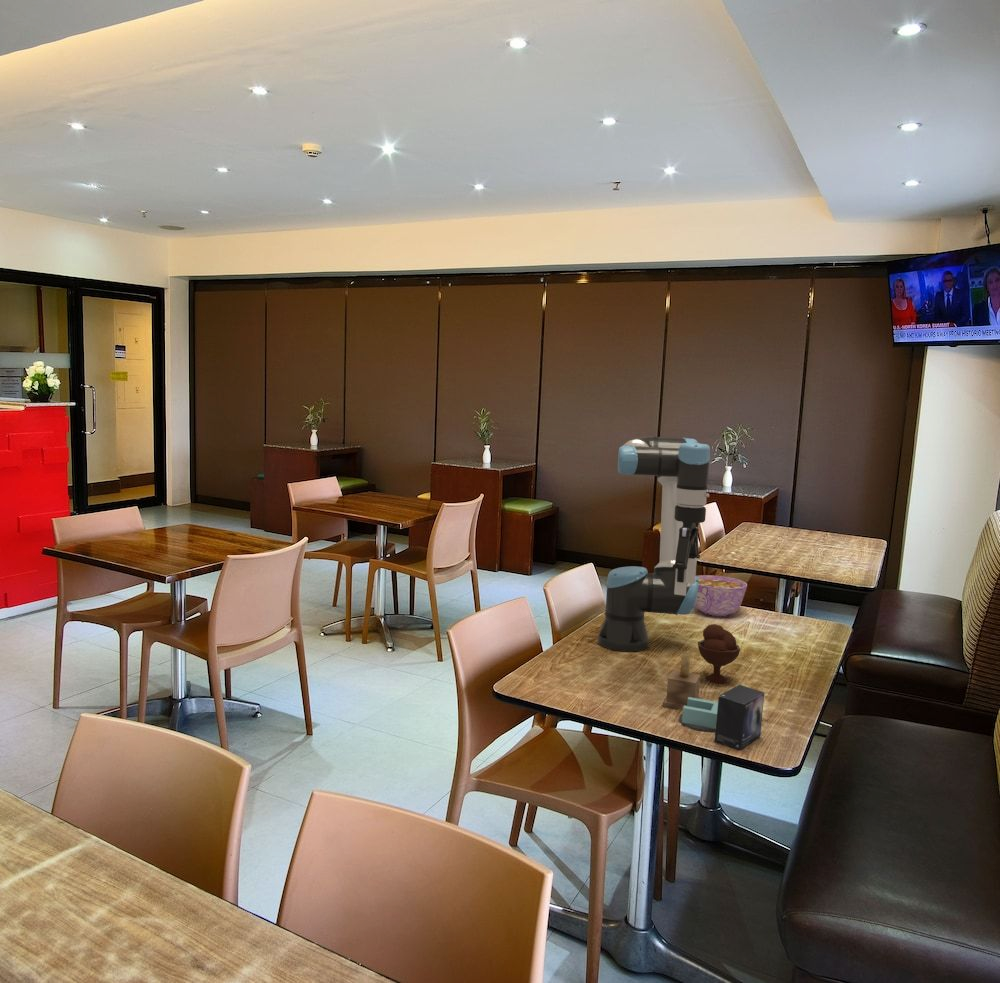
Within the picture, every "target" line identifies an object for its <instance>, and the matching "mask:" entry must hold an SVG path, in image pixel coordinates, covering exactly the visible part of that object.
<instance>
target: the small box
mask: <svg viewBox="0 0 1000 983" xmlns="http://www.w3.org/2000/svg"><path fill="white" fill-rule="evenodd" d="M764 698H765V692H764V691H761V690H758V689H755V688H751V687H748V686H745V685H742V684H738V685H736V686H735V687H733V688H730V689H728V690H727V691H725V692H722V693H721V694H719V695H718V700H717V702H718V709H717V721H716V730H715V731H714V732H715V733H714V740H713V741H714V742H716V743H719V744H721V745H725V746H727V747H731V748H733V749H736V750H742V749H744V748H746V747H747V746H748V745H749V744H751V743H753V742H754V741H756V740H758V739H759V738H761V735H762V722H763V712H764V710H763V709H764V702H765V699H764Z"/></svg>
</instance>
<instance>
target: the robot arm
mask: <svg viewBox="0 0 1000 983" xmlns="http://www.w3.org/2000/svg"><path fill="white" fill-rule="evenodd" d="M710 453H711V448H710V446H709V444H707V443H699V441H697V440H696V439H695V438H690V437H689V438H688V437H684V436H683V437H672V436H671V437H670V436H669V437H668V436H665V437H664V436H648V435H647V436H640V437H637V438H632V439H630V440H627V442H625V443H623V445H621V446H620V447H619V448H618V454H617V455H618V457H617V472H618V474H621V475H626V476H649V477H650V476H651V477H654V476H655V477H657V482H659V484H660V485H661V486H662V488H661V489H662V490H661V491H662V492H661V493H662V494H661V512H660V513H661V516H660V518H661V520H660V540H659V541H660V542H659V562H658V563H657V564H656V565H655V566H654V568H653V573H649V572H648V569H647V568H646V567H643V566H635V565H633V566H631V565H630V566H621V567H617V568H613V569H612V570H610V571H609V573H608V574H607V579H606V580H607V581H606V585H605V587H606V597H605V612H604V613H605V614H604V619H603V622H602V625H601V626H600V629H599V632H598V635H597V643H598V645H600V646H602V647H603V648H606V649H609V650H612V651H619V652H640V651H644V650H647V649H648V648H649V642H650V640H649V634H648V631H647V628H646V623H645V613H653V614H654V613H655V614H656V613H657V614H669V615H675V616H679V615H686V616H687V615H690V614H692V612H693V611H694V609H695V608H696V606H695V603H696V598H697V593H698V586H699V578H698V577H697V576H698V575H697V563H698V562H697V561H698V560H697V559H700V558H701V554H699V524H703V523H705V522H706V515H707V514H706V512H707V508H706V507H705V506H706V505H707V498H710V493H708V482H709V470H710V461H711V454H710Z"/></svg>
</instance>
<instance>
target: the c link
mask: <svg viewBox="0 0 1000 983" xmlns="http://www.w3.org/2000/svg"><path fill="white" fill-rule="evenodd" d="M717 709H718V701H715V700H713V701H712V700H709V699H704V698H702V699H698V698H692V697H688V700H687V706H684V707H683V711H682V713H683V714H682V713H681V714H682V723H687V724H692V725H697V726H702V727H707V728H713V729H716V721H717Z"/></svg>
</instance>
